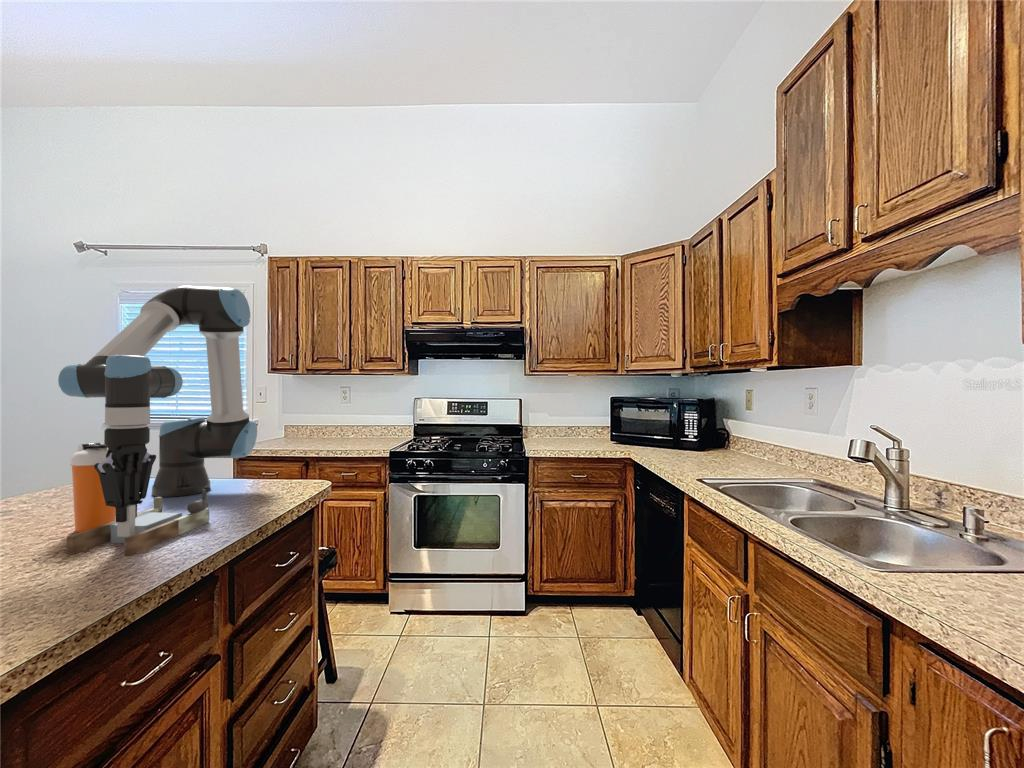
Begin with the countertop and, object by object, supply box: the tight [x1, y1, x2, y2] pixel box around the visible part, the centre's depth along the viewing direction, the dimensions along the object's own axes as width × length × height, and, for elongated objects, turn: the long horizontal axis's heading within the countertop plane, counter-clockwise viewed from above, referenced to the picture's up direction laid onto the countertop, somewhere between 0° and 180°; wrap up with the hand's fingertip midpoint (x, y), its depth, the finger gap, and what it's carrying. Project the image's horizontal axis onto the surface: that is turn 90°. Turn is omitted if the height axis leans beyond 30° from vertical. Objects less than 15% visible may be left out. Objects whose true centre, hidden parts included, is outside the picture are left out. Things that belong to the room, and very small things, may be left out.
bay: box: [66, 486, 211, 557], centre depth 104 cm, size 23×14×9 cm, turn 178°
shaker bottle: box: [70, 442, 116, 533], centre depth 109 cm, size 9×9×20 cm
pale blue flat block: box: [110, 512, 183, 544], centre depth 105 cm, size 10×8×4 cm
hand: (126, 535), depth 99 cm, fingers closed
